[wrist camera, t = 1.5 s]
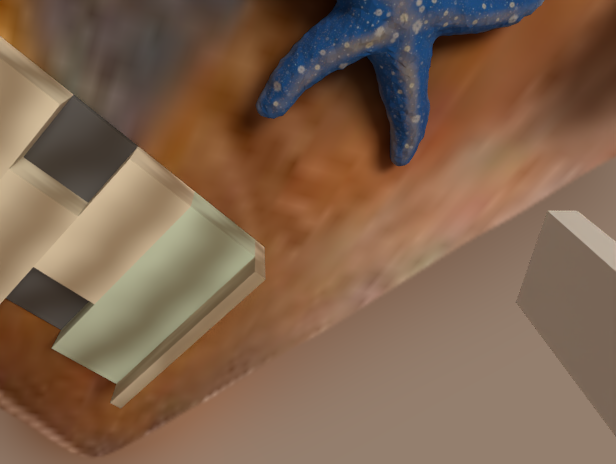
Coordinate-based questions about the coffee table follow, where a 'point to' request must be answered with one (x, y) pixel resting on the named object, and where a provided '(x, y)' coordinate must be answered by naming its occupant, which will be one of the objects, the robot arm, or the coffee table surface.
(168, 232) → the board
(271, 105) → the starfish
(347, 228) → the coffee table surface
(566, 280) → the robot arm
